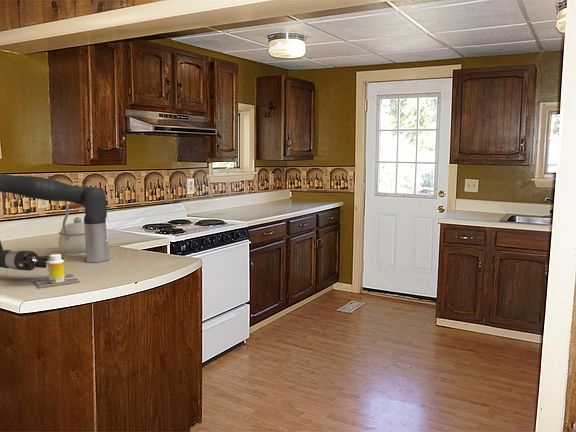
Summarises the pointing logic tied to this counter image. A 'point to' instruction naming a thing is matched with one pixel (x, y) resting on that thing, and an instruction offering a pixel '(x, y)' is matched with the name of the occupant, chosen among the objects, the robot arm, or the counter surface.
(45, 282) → the lane mat
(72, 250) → the kettle
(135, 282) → the counter surface
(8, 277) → the counter surface
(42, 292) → the counter surface
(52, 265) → the supplement bottle
